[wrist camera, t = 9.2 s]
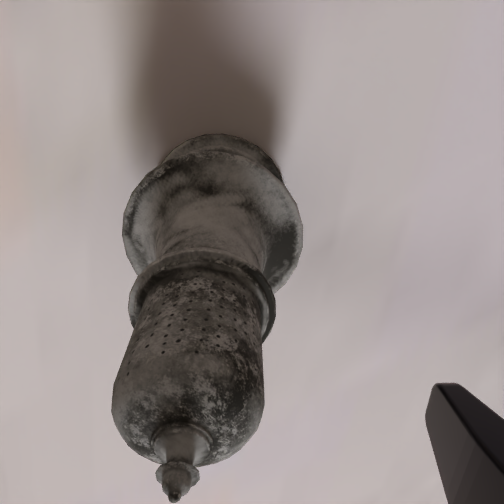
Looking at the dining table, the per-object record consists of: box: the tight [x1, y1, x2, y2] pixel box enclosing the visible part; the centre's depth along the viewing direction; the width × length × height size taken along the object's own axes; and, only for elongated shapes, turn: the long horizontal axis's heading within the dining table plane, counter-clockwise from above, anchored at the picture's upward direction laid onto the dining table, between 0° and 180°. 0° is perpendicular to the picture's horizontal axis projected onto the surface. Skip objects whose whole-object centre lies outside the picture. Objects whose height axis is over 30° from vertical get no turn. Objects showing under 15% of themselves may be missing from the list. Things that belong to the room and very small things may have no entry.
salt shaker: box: [111, 134, 303, 503], centre depth 11 cm, size 6×6×12 cm
